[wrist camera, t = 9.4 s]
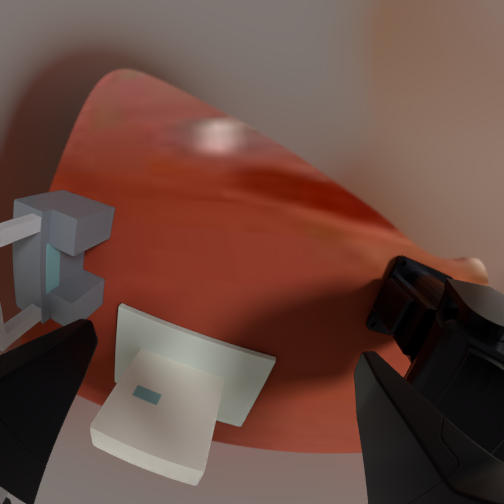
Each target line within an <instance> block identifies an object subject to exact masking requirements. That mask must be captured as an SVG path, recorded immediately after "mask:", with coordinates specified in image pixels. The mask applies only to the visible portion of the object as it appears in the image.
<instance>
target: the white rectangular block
mask: <svg viewBox="0 0 504 504" xmlns="http://www.w3.org/2000/svg"><path fill="white" fill-rule="evenodd" d="M224 382H225V378H222V377H219V376H216V375H213V374H210V373H207V372H204V371H201V370H198V369H195V368H192V367H189V366H187V365H184V364H181V363H179V362H176V361H173V360H171V359H168V358H166V357H163V356H160V355H158V354H156V353H153V352H151V351H148V350H146V349H144V348H140V350H139V351H138V353H137V354H136V356H135V357H134V359H133V360H132V362H131V363H130V365H129V366H128V368H127V369H126V371H125V372H124V374H123V375H122V377H121V378H120V380H119V381H118V383H117V384H116V386H115V387H114V389H113V390H112V392H111V393H110V395H109V396H108V398H107V399H106V401H105V403H104V404H103V406H102V407H101V409H100V410H99V412H98V414H97V415H96V417H95V418H94V420H93V421H92V423H91V425H90V432H91V436H92V442H93V445H94V446H96V447H97V448H99V449H101V450H104V451H105V452H107V453H110V454H112V455H114V456H116V457H118V458H120V459H122V460H125V461H127V462H129V463H131V464H134V465H136V466H139V467H141V468H144V469H146V470H149V471H152V472H154V473H157V474H160V475H163V476H165V477H168V478H171V479H174V480H177V481H181V482H184V483H188V484H191V485H194V486H196V485H197V484H198V482H199V480H200V479H201V477H202V475H203V474H204V472H205V467H206V463H207V458H208V454H209V449H210V445H211V441H212V436H213V432H214V427H215V423H216V418H217V414H218V409H219V404H220V400H221V395H222V391H223V386H224Z"/></svg>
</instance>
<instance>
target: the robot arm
mask: <svg viewBox="0 0 504 504" xmlns="http://www.w3.org/2000/svg"><path fill="white" fill-rule="evenodd" d="M402 260H404V263H403V264H402V265H401V261H402ZM372 322H374V323H373V324H372V325H370V324H371V323H372ZM366 326H367V328H368V329H369V330H373V331H376V332H380V333H384V334H388V335H392V337H393V338H394V340H395V341H396V343H397V345H398V346H399V348H400V349H401V351H402V353H403V354H405V355H406V356H407V357H408V359H409V361H410V362H411V365H410V367H409V369H408V371H407V373H406V374H405V376H404V378H403V377H402V376H401V375H400V374H399V373H398V372H397V371H395V370H394V369H393V368H392V367H391V366H390V365H389V364H388V363H387V362H386V361H385V360H384V359H383V358H381V357H380V356H379V355H378V354H377V353H376V352H374V351H364V352H362V353H361V355H360V358H359V360H358V363H357V365H356V368H355V371H354V382H355V396H356V414H357V422H358V428H359V434H360V441H361V447H362V454H363V461H364V469H365V476H366V486H367V495H368V504H504V295H503V294H501V293H500V292H498V291H496V290H494V289H493V288H491V287H488V286H484V285H479V284H474V283H469V282H464V281H459V280H454V279H453V278H452V277H450V276H448V275H446V274H444V273H442V272H440V271H437V270H435V269H433V268H431V267H429V266H426V265H424V264H422V263H419V262H417V261H415V260H413V259H410V258H408V257H406V256H402V255H401V256H399V257H398V258H397V259H396V261H395V264H394V266H393V268H392V270H391V273H390V275H389V277H388V278H387V279H386V280H385V282H384V284H383V286H382V289H381V291H380V293H379V295H378V297H377V299H376V301H375V303H374V305H373V309H372V311H371V313H370V315H369V317H368V319H367V321H366ZM97 343H98V338H97V335H96V332H95V329H94V326H93V323H92V322H91V321H90V320H87V319H83V318H81V319H78V320H76V321H74V322H72V323H69V324H67V325H65V326H63V327H61V328H58V329H56V330H54V331H52V332H50V333H47V334H45V335H43V336H41V337H39V338H36V339H34V340H32V341H30V342H28V343H25V344H23V345H21V346H19V347H17V348H15V349H12V350H10V351H8V352H6V353H4V354H1V355H0V504H11V501H10V499H9V498H7V497H6V496H7V494H8V492H9V493H10V494H12V495H13V496H15V497H16V498H18V499H19V500H21V501H23V502H24V503H26V504H34V502H35V498H36V495H37V492H38V489H39V485H40V483H41V480H42V477H43V474H44V471H45V468H46V465H47V462H48V460H49V457H50V454H51V452H52V449H53V446H54V444H55V442H56V439H57V437H58V434H59V432H60V430H61V427H62V425H63V423H64V420H65V418H66V416H67V414H68V411H69V409H70V407H71V405H72V403H73V400H74V398H75V396H76V394H77V392H78V390H79V388H80V386H81V384H82V382H83V379H84V377H85V375H86V372H87V370H88V367H89V364H90V362H91V359H92V357H93V354H94V351H95V349H96V346H97Z"/></svg>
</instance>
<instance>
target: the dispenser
mask: <svg viewBox="0 0 504 504" xmlns="http://www.w3.org/2000/svg"><path fill="white" fill-rule="evenodd" d="M114 211H115V207H112V206H109V205H106V204H103V203H100V202H97V201H94V200H91V199H88V198H85V197H82V196H79V195H77V194H74V193H71V192H68V191H65V190H60V191H54V192H49V193H44V194H39V195H34V196H29V197H25V198H20V199H16V200H15V201H14V216H13V219H12V220H9V221H6V222H3V223H0V247H2V246H4V245H7V244H9V243H12V242H13V270H14V285H15V296H16V305H17V306H18V307H19V308H20V309H22V310H23V311H22V312H20V313H19V314H17V315H16V316H14V317H13V318H12V319H10V320H9V321H7V322H6V323H5V324H4V322H3V316H2V310H1V304H0V350H1V351H2V352H3V351H4V350H5V349H6V348H7V347H8V346H9V345H11V344H12V343H13V342H14V341H15V340H17V339H18V338H19V337H20V336H22V335H23V334H24V333H25V332H26V331H28V330H29V329H30V328H31V327H33V326H34V325H35V324H37V323H38V322H39V321H40V322H41V323H43V324H44V323H45V322H46V321H47V320H49V319H50V318H51V319H52V320H54V321H56V322H57V323H59V324H61V325H63V326H65V325H67V324H69V323H72V322H74V321H76V320H78V319H81V318H83V319H87V318H88V317H89V316H90V315H91V314H92V313H93V312H94V311H95V310H97V309H98V308H99V307H100V306H101V305H102V304H103V293H104V282H105V279H103V278H101V277H99V276H96V275H94V274H92V273H90V272H88V271H85V270H83V263H84V251H85V250H87V249H89V248H91V247H93V246H95V245H97V244H99V243H101V242H103V241H105V240H107V239H110V234H111V228H112V222H113V217H114Z"/></svg>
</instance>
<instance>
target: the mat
mask: <svg viewBox="0 0 504 504" xmlns="http://www.w3.org/2000/svg"><path fill="white" fill-rule="evenodd" d="M140 348H144V349H146V350H148V351H151V352H153V353H156V354H158V355H160V356H163V357H166V358H168V359H171V360H173V361H176V362H179V363H181V364H184V365H187V366H189V367H192V368H195V369H198V370H201V371H204V372H207V373H210V374H213V375H216V376H219V377H222V378H225V382H224V386H223V391H222V395H221V400H220V404H219V409H218V414H217V418H216V420H217V421H220V422H224V423H228V424H231V425H235V426H239V427H241V426H242V424H243V422H244V420H245V419H246V417H247V415H248V413H249V411H250V410H251V408H252V406H253V404H254V402H255V400H256V399H257V397H258V395H259V393H260V391H261V389H262V387H263V385H264V383H265V382H266V380H267V378H268V376H269V374H270V372H271V370H272V368H273V366H274V364H275V362H276V357H273V356H270V355H266V354H263V353H259V352H256V351H252V350H249V349H246V348H242V347H239V346H236V345H233V344H230V343H227V342H223V341H220V340H217V339H214V338H211V337H208V336H205V335H203V334H200V333H197V332H194V331H191V330H188V329H186V328H183V327H180V326H177V325H175V324H172V323H170V322H167V321H164V320H162V319H159V318H157V317H154V316H152V315H149V314H147V313H144V312H142V311H139V310H137V309H135V308H132V307H130V306H127V305H125V304H123V303H122V304H121V305H119V310H118V321H117V334H116V352H115V382H116V383H118V381H119V380H120V378H121V377H122V375H123V374H124V372H125V371H126V369H127V368H128V366H129V365H130V363H131V362H132V360H133V359H134V357H135V356H136V354H137V353H138V351H139V350H140Z"/></svg>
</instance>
